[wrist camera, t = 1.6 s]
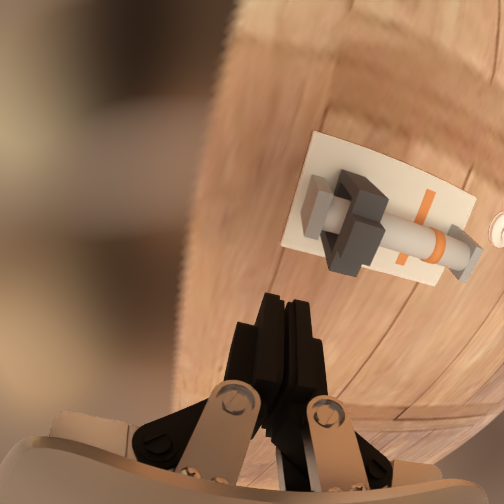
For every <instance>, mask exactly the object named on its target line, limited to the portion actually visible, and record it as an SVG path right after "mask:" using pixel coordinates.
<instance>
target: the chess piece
mask: <svg viewBox="0 0 504 504" xmlns="http://www.w3.org/2000/svg"><path fill="white" fill-rule="evenodd" d="M489 240H490V242H491V244H492V245H494V246H495V247H498V248H501V247H504V211H502V212H500V213H498V214H497V215H496V216H495V217H494V219H493V220H492V222H491V224H490V227H489Z"/></svg>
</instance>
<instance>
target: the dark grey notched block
mask: <svg viewBox="0 0 504 504" xmlns="http://www.w3.org/2000/svg"><path fill="white" fill-rule="evenodd" d="M334 196H336V197H339V198H343V199H346V200H349V201H351V203H350V206H349V209H348V211H347V214H346V217H345V220H344V222H343V225H342V228H341V230H340V233H339V234H335V233H332V232H328V231H325V230H321V233H320V237H321V241H322V245H323V249H324V252H325V256H326V260H327V265H328V269H329V271H333V272H337V273H341V274H345V275H349V276H353V277H357V274H358V272H359V270H360V268H361V266H362V264H363V265H366V266H370V265H371V263H372V260H373V258H374V256H375V254H376V252H377V249H378V247H379V245H380V243H381V240H382V238H383V236H384V233H385V231H386V230H385V229H384V227H383V226H382V224H381V223H380V221H381V219H382V216H383V214H384V211H385V209H386V206H387V204H388V201H389V199H388V198H387V197H386V196H385V195H384V194H383V193H382V192H381V191H380V190H379V189H378V188H377V187H376V186H375V185H374V184H373V183H371V182H370V181H369V180H368V179H367V178H366V177H364V176H361V175H358V174H355V173H352V172H349V171H346V170H343V169H342V170H341V173H340V176H339V179H338V182H337V185H336V188H335V191H334Z"/></svg>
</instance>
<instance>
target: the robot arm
mask: <svg viewBox="0 0 504 504" xmlns="http://www.w3.org/2000/svg"><path fill="white" fill-rule="evenodd" d="M261 424H262V425H261ZM260 426H261V427H262V428H263V429H266V437H271V442H272V443H273V444H274V445H275V446H276V461H277V470H278V479H279V488H280V491H277V490H266V489H257V488H249V487H242V486H236V483H237V480H238V477H239V474H240V471H241V468H242V465H243V462H244V458H245V455H246V452H247V449H248V446H249V443H250V440H251V439H253V438H254V436H255V434H256V433H257V431H258V429H259V428H260ZM0 504H489V502H488V498H487V496H486V493H485V491H484V490H483V489H482V488H481V487H480V486H479V485H477V484H475V483H473V482H470V481H466V480H460V479H443V477H442V473H441V471H440V469H439V468H438V467H437V466H435V465H432V464H423V463H415V462H407V461H400V460H393V461H389V460H388V459H387V458H386V457H385V456H384V455H383V454H381V453H380V452H379V451H378V450H377V449H375V448H374V447H373V446H372V445H371V444H369V443H368V442H367V441H366V440H365V439H364V438H362V437H361V436H360V435H359V434H358V433H357V432H355V431H354V428H353V425H352V421H351V418H350V414H349V411H348V409H347V407H346V406H345V405H344V404H343V402H341V401H340V400H338V399H337V398H335V397H332V396H328V391H327V381H326V371H325V362H324V354H323V345H322V341H321V340H320V339H316V338H313V336H312V326H311V316H310V306H309V303H308V302H305V301H301V300H296V299H294V300H293V302H288V303H287V305H286V307H285V310H284V301H283V300H280V296H279V295H275V294H270V293H266V292H265V294H264V297H263V300H262V303H261V306H260V309H259V313H258V316H257V319H256V322H255V325H250V324H245V323H241V322H237V325H236V329H235V332H234V336H233V340H232V344H231V348H230V353H229V357H228V362H227V367H226V371H225V376H224V381H223V382H221V383H219V384H218V385H216V386H215V388H214V389H213V391H212V392H211V395H210V397H209V398H207V399H205V400H203V401H201V402H198V403H196V404H194V405H192V406H189V407H187V408H185V409H182V410H180V411H177V412H175V413H173V414H170V415H168V416H165V417H163V418H160V419H158V420H155V421H152V422H150V423H147V424H145V425H143V426H134V425H129V424H128V422H123V421H117V420H111V419H106V418H101V417H96V416H91V415H87V414H83V413H78V412H74V411H64V412H60V413H59V414H57V415H56V416H55V417H54V419H53V421H52V424H51V428H50V433H49V436H33V437H27V438H24V439H22V440H21V441H19V442H18V443H17V444H16V445H15V446H14V447H13V448H12V449H11V450H10V451H9V453H8V454H7V455H6V457H5V458H4V460H3V461H2V463H1V465H0Z"/></svg>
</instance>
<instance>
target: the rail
mask: <svg viewBox="0 0 504 504" xmlns="http://www.w3.org/2000/svg"><path fill="white" fill-rule="evenodd" d="M342 169H343V170H346V171H349V172H352V173H355V174H358V175H361V176H364V177H366V178H367V179H368V180H369V181H370V182H371V183H373V184H374V185H375V186H376V187H377V188H378V189H379V190H380V191H381V192H382V193H383V194H384V195H385V196H386V197H387V198H388V199H389V201H388V204H387V206H386V209H385V211H384V214H383V216H382V219H381V221H380V223H381V224H382V226H383V227H384V229H385V230H386V231H385V233H384V236H383V238H382V240H381V243H380V245H379V247H378V249H377V252H376V254H375V256H374V258H373V260H372V263H371V265H370V266H366V265H363V264H362V266H361V267H364V268H368V269H372V270H375V271H379V272H383V273H387V274H390V275H394V276H398V277H402V278H405V279H409V280H413V281H417V282H420V283H424V284H428V285H431V286H435V285H436V283H437V282H438V280H439V278H440V276H441V274H442V272H443V271H444V269H445V267H447V268H449V269H450V270H451V272H452V273H453V274H454V275H455V277H456V278H457V279H458V281H461V282H464V283H466V282H467V280H468V278H469V277H470V275H471V273H472V271H473V269H474V267H475V265H476V264H477V262H478V260H479V258H480V256H481V254H482V252H483V250H484V249H482V248H481V247H480V246H479V245H478V244H477V243H476V242H475V241H474V240H473V239H472V238H471V237H470V236H468V235H467V234H466V233H465V232H464V231H463V230H464V228H465V225H466V223H467V221H468V218H469V216H470V214H471V211H472V209H473V206H474V204H475V201H476V199H477V198H476V197H474V196H473V195H471V194H469V193H467V192H465V191H463V190H462V189H460V188H458V187H456V186H454V185H452V184H450V183H448V182H446V181H444V180H442V179H440V178H437V177H435V176H433V175H431V174H429V173H427V172H425V171H422V170H420V169H418V168H416V167H413V166H411V165H409V164H406V163H404V162H402V161H399V160H397V159H394V158H392V157H389V156H387V155H384V154H382V153H379V152H376V151H374V150H371V149H368V148H366V147H363V146H360V145H357V144H354V143H352V142H349V141H346V140H343V139H340V138H337V137H334V136H330V135H327V134H324V133H321V132H317V131H314V130H313V133H312V136H311V140H310V143H309V147H308V150H307V154H306V157H305V161H304V164H303V168H302V171H301V175H300V178H299V182H298V185H297V189H296V192H295V195H294V199H293V202H292V206H291V209H290V212H289V216H288V219H287V222H286V226H285V229H284V232H283V236H282V239H281V246H283V247H287V248H291V249H294V250H298V251H302V252H306V253H310V254H314V255H318V256H322V257H326V256H325V252H324V249H323V245H322V241H321V237H320V233H321V230H325V231H328V232H332V233H335V234H339V233H340V230H341V228H342V225H343V222H344V220H345V217H346V214H347V211H348V209H349V206H350V203H351V201H349V200H346V199H343V198H339V197H336V196H334V191H335V188H336V185H337V182H338V179H339V176H340V173H341V170H342Z"/></svg>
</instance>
